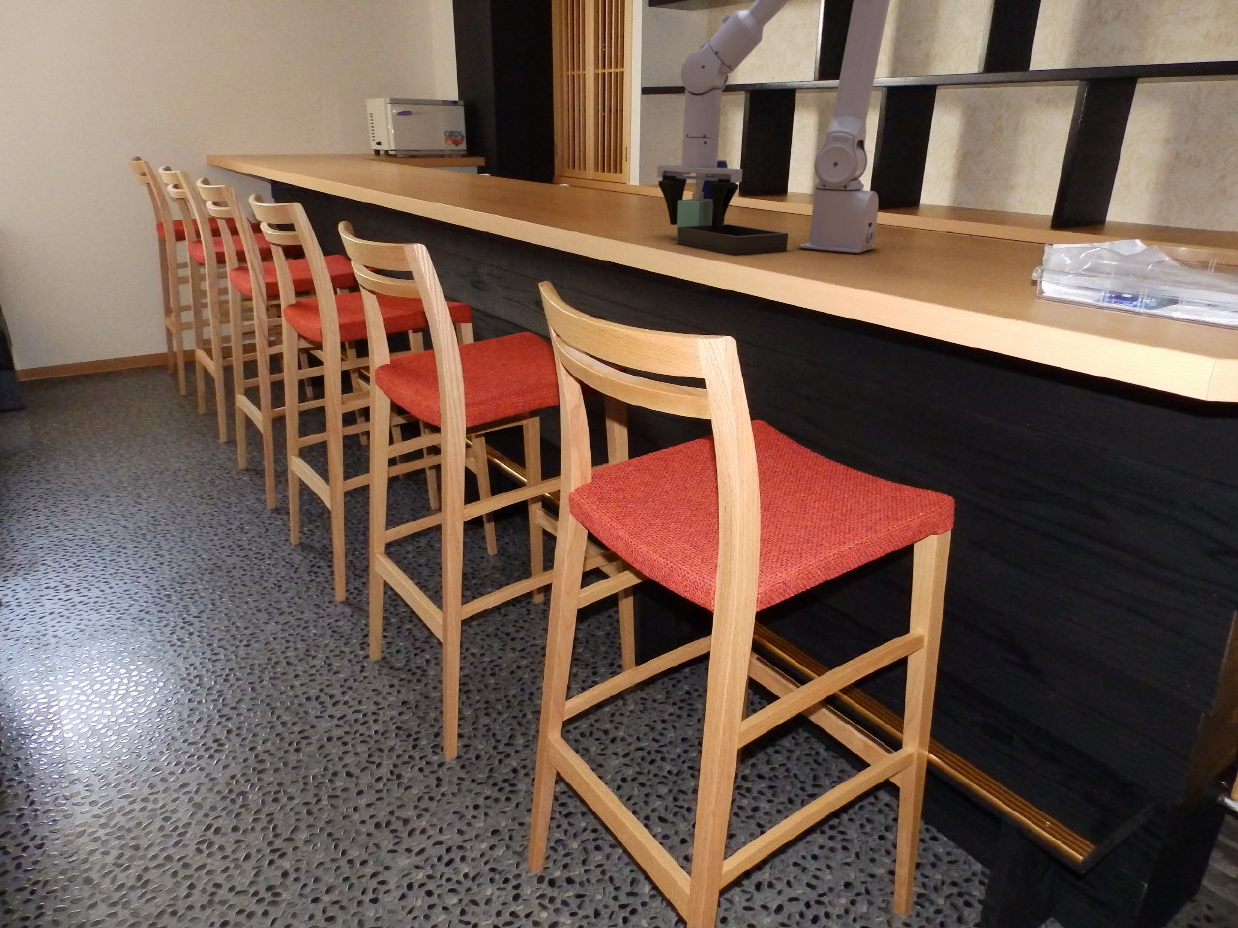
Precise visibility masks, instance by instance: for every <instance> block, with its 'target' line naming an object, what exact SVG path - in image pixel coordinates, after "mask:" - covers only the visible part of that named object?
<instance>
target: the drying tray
mask: <svg viewBox="0 0 1238 928" xmlns="http://www.w3.org/2000/svg"><path fill="white" fill-rule="evenodd" d="M676 239H677V238H676ZM788 241H789V233H788V232H782V231H776V230H769V229H764V228H757V227H750V226H744V225H738V224H737V225H736V224H731V223H724V224H722V225H720V228H719V229H713V226H712V225H702V226H686V227H678V239H677V240H676V242H677V243H676V244H677V245H682V246H688V247H692V248H697V249H700V250H701V249H702V250H706V251H712V252H717V253H721V254H725V255H726V254H727V255H732V256H741V255H754V254H766V253H768V254H769V253H778V252H779V253H780V252H787V251H788V243H789V242H788Z"/></svg>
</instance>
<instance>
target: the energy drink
mask: <svg viewBox="0 0 1238 928" xmlns="http://www.w3.org/2000/svg"><path fill="white" fill-rule="evenodd" d="M717 167H718V168H728V162H727V160H726V159H717ZM695 176H701V177H714V176H707V174H698V173H695ZM711 183H718V181H710V180H695V187H694V192H703V193H704V197H703V199H711V200H712V191H711ZM725 218H726V216H725V217H724V220H723V224H725V220H726V219H725Z"/></svg>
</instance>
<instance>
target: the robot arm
mask: <svg viewBox="0 0 1238 928" xmlns="http://www.w3.org/2000/svg"><path fill="white" fill-rule="evenodd" d="M790 1H791V0H754V1H753V2H752V4H751V5H750V7H749V8H748V9H741V10H735V11H734V12H733V13H732V14H729V13H726V15H725V16H724V17H723V18H722V19H721V22H722V23H723V24H722V25H721V26H720V27H719V28H718V29H717V31H716V32H715V33H714V35H712V37H711V38H710V39H709V40H708V41H703V43H701V45H700V46H699V48H700V50H696V51H693V52H691V53H689V54H688V55H687V57H686V59H685V60H684V62H683V63H682V66H681V69H680V80H681V83H682V85H683V87H684V88H685V91H684V93H685V94H684V105H683V121H682V124H683V125H682V144H681V145H682V146H681V164H680V165H677V164H675V165H674V164H658V165H657V168H656V169H657V171H656V178H658V179H659V178H661V180H658V187H659V189H660V191H661V193H662V196H663V198H664V201H665V205H666V208H667V212H668V217H669V224H670V226H671V225H672V226H677V213H678V201H680V200H684V199H683V198H684V193H685V192H684V191H685V187H686V184H687V180H695V181H696V180H710V181H718V183H711V191H712V201H713V211H712V226H713V229H719V228H720V225H722V224H723V220H724V217H725V218H726V213H727V211H728V209H729V206H730V204H731V202H732V200H733V198H734V197H735V194H736V192H737V191H738V190H739V185H740V184H739V183H742V182H743V181H742V180H743V168H718V167H717V160H719V159H718V158H719V157H718V155H719V142H720V141H719V140H720V139H719V137H720V125H721V124H720V123H721V111H722V110H721V109H722V106H721V103H722V102H721V101H722V91H723V90H724V89H725V87H726V86H727V83H728V82H729V74H732V73H733V72H734V71H736V69H737V68H738V67H739V66H740V65H741V64H742V63H743V61H745V60H746V58H747V57H748V56H749V55H750V54H751V53H752V52H754V50H755V49H756V48H757V46H759V44H760V43H761V42H762V41H763V34H764V28H765V26H766V25H767V24H768V23H769V22H770V21H771V20H772V19H773V18H774V17H775V16H776V15H777V14H778V13H779V12H780V11H781V10H783V8H784V7H785V6H786V5H787V4H788V3H789V2H790ZM890 2H891V0H853V3H852V8H851V13H850V20H849V26H848V30H847V35H846V42H845V47H844V52H843V58H842V64H841V68H840V75H839V78H838V79H839V80H838V86H837V91H836V96H835V103H834V106H833V107H834V108H833V113H832V118H831V121H830V123H829V125H828V128H827V130H826V134H825V139H824V143H823V145H822V147H821V148H820V149H819V151H818V152H817V154H816V155H815V159H814V165H813V168H814V173H815V176H816V178H817V179H818V182H817V183H815V184H814V188H813V198H812V209H811V218H810V219H811V220H810V230H809V238H808V239H809V241H808V242H805V243H801V244H799V245H798V247H799V249H805V250H806V249H807V250H816V251H817V250H819V251H828V252H838V253H839V252H840V253H850V254H860V253H861V254H862V253H864V252H867V251H870V250H874V249H875V248H876V245H875V239H876V230H877V223H878V222H877V221H878V215H879V214H878V213H879V195H878V193H877V192H876V191H874V190H864V183H862V181H861V179H860V178H861V177H862V176H863V175H864V173H865V172H866V169H867V167H868V155H867V151H866V145H865V144H866V139H867V118H868V113H869V108H870V103H871V99H872V93H873V88H874V83H875V77H876V73H877V67H878V63H879V58H880V57H879V56H880V54H881V53H880V52H881V48H882V42H883V38H884V33H885V28H886V21H887V17H888V11H889V7H890ZM696 173H698V174H707V176H714V177H701V176H696V175H691V174H696ZM724 221H725V220H724Z"/></svg>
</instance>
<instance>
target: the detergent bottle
mask: <svg viewBox="0 0 1238 928" xmlns="http://www.w3.org/2000/svg"><path fill="white" fill-rule="evenodd" d="M691 197H692V198H688V199H682V200H680V201H678V213H677V225H676V239H675V240H676V241H677V239H678V227H686V226H702V225H712V211H713V201H712V200H711V199H703V197H704V193H703V192H695V191H692V196H691Z"/></svg>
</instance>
